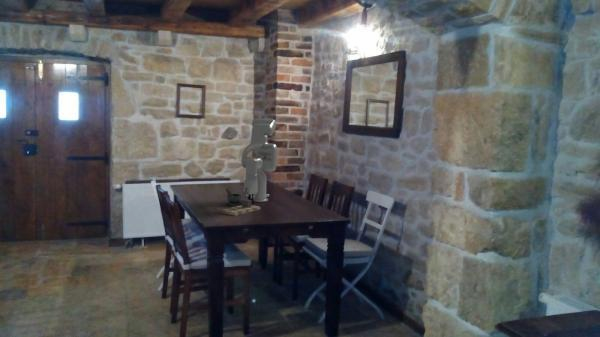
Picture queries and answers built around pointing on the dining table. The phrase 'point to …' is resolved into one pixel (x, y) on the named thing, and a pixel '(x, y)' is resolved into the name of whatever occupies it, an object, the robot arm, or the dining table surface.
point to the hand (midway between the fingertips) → (250, 204)
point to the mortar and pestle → (233, 198)
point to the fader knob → (246, 203)
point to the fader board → (240, 210)
